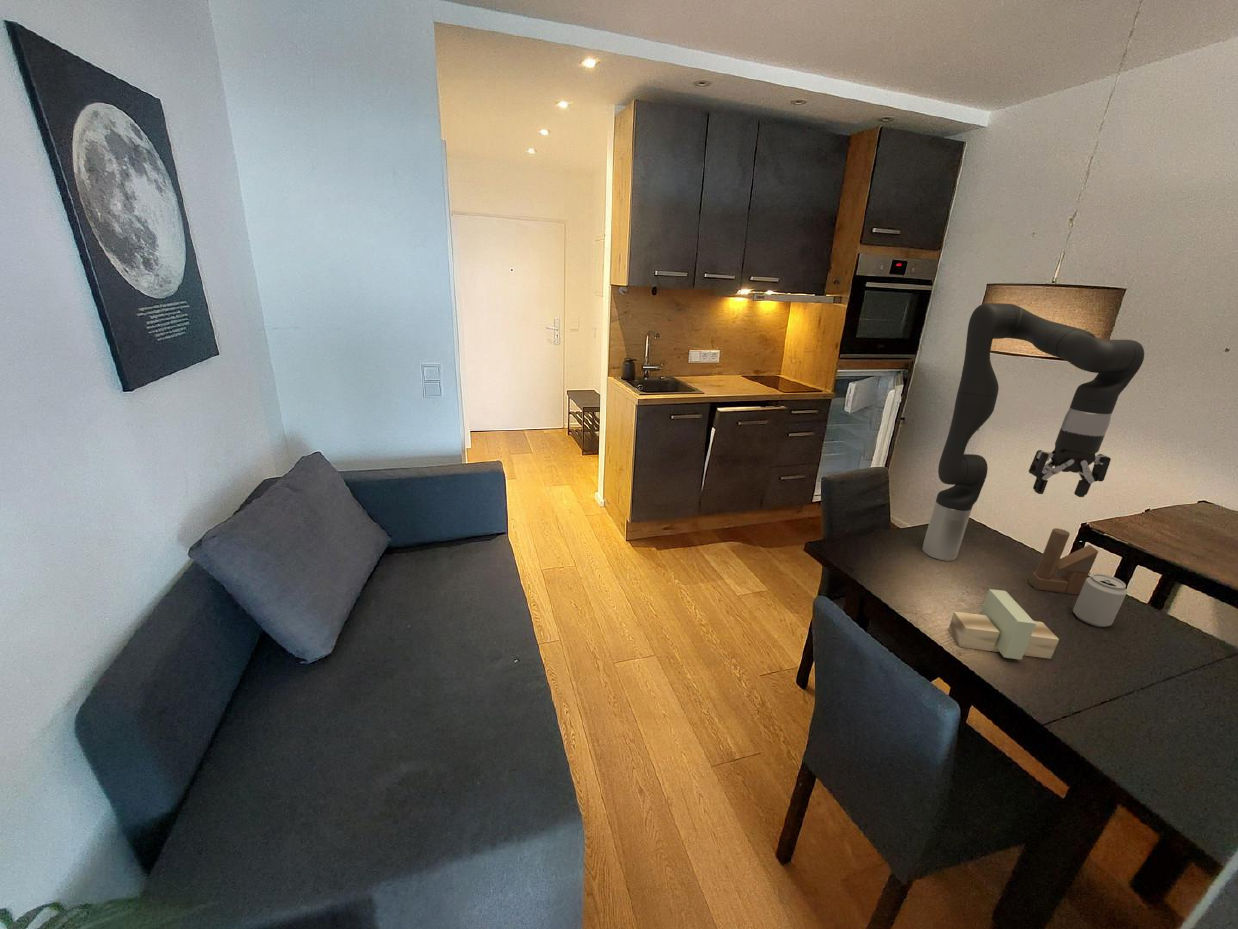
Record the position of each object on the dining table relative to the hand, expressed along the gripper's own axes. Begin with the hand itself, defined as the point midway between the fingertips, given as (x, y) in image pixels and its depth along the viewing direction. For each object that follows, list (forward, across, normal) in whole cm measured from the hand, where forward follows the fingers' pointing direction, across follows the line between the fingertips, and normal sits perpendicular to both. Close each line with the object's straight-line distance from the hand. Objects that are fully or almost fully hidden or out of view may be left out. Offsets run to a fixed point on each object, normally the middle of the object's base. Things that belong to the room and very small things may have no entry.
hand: (1058, 494), depth 114 cm
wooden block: (+33, -16, -12) cm, 39 cm away
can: (+33, -17, +1) cm, 37 cm away
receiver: (+33, +12, +16) cm, 39 cm away
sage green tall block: (+32, +12, +16) cm, 38 cm away
